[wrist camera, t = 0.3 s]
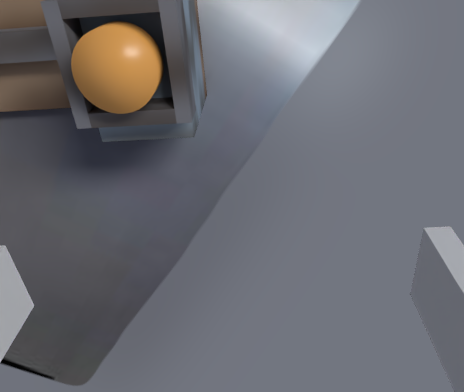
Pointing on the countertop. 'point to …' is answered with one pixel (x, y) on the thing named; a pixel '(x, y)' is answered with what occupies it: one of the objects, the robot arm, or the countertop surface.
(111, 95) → the button
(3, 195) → the countertop surface
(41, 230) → the countertop surface
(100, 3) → the rail bench
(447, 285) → the robot arm
